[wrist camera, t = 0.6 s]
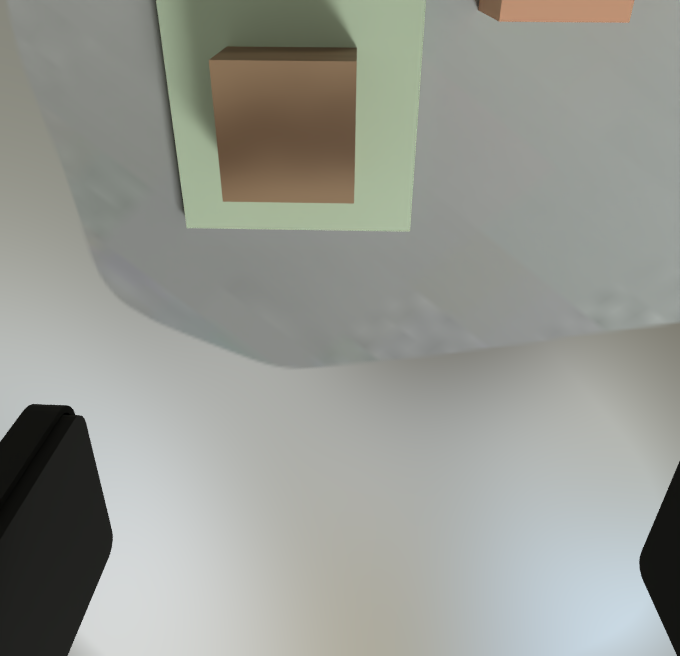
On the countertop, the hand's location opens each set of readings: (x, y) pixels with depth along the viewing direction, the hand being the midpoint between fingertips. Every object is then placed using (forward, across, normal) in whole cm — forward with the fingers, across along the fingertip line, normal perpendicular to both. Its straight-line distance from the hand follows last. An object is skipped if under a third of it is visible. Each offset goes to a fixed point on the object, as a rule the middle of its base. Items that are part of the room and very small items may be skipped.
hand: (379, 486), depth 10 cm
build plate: (+24, +4, -1) cm, 25 cm away
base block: (+24, +4, -1) cm, 24 cm away
